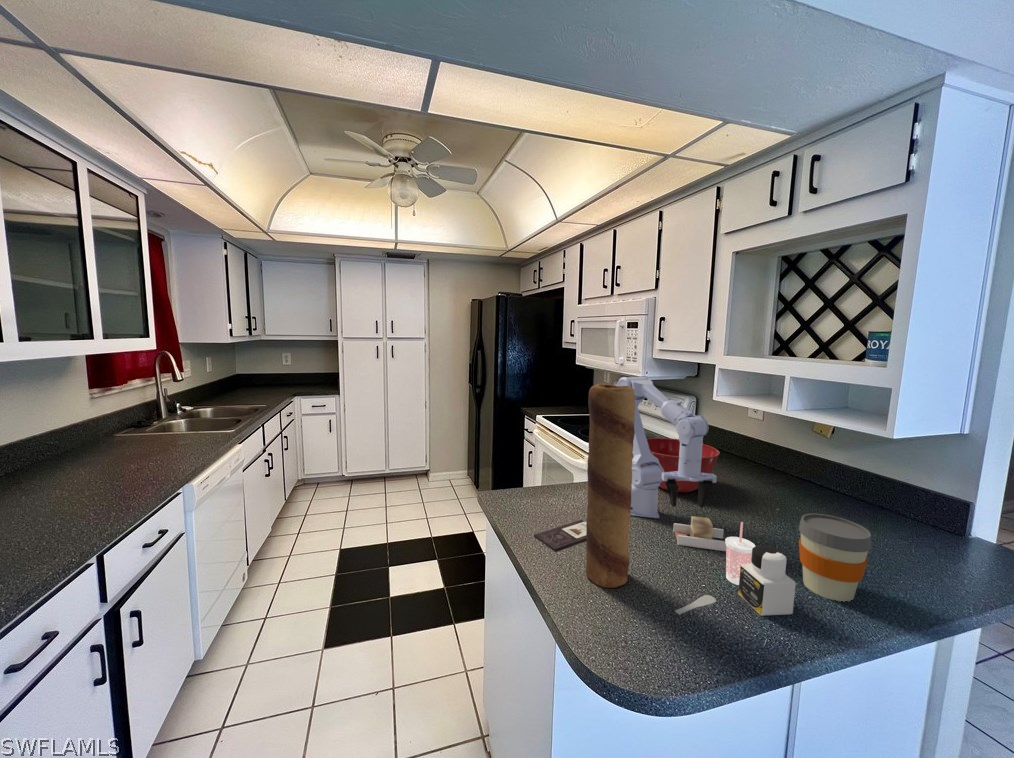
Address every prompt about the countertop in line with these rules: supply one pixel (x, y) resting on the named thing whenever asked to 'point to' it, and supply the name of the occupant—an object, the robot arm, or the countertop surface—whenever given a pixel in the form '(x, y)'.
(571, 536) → the chocolate bar
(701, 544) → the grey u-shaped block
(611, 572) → the wafer roll
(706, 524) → the maple block
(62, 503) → the countertop surface
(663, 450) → the mixing bowl
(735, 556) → the beverage cup
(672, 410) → the robot arm
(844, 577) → the reusable coffee cup
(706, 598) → the grey flat paddle piece
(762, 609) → the medicine bottle
